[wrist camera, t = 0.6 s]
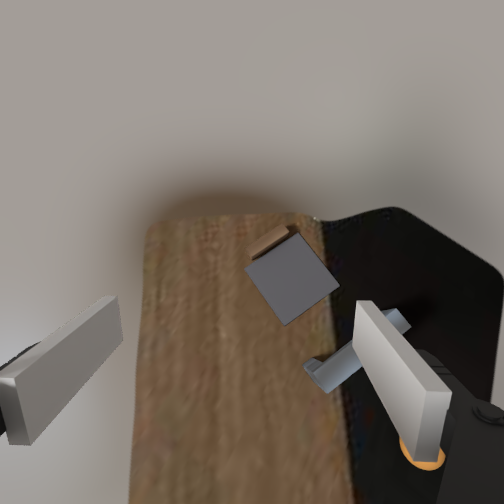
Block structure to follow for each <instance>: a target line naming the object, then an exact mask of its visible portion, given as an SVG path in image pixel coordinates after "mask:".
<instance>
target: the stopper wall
mask: <svg viewBox="0 0 504 504" xmlns="http://www.w3.org/2000/svg"><path fill="white" fill-rule="evenodd" d="M288 234H289V231H288V230H287V228H286V227H285V226H284V225H283V223H282V224H280V225H279V226H277V227H276V228H274V229H273V230H271V231H270V232H268V233H267V234H265V235H264V236H262V237H261V238H259V239H258V240H256V241H255V242H253V243H251V244H250V245H248V246H247V247H245V251H246V253H247V255H248V256H249V257H250V259H251V260H253V259H255V258H256V257H258V256H259V255H261V254H262V253H264V252H265V251H267V250H268V249H270V248H271V247H273V246H274V245H276V244H277V243H279V242H280V241H282V240H283V239H285V238H286V237H288Z"/></svg>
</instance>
